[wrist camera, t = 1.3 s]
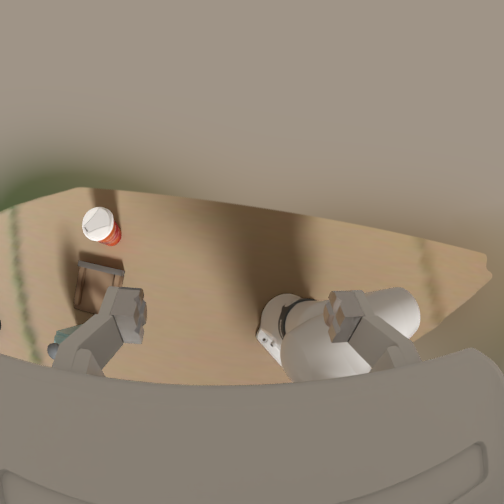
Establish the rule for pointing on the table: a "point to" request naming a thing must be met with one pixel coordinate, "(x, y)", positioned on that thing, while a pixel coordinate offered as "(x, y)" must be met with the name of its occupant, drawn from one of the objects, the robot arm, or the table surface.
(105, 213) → the paper cup
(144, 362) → the table surface
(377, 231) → the table surface
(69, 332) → the bottle
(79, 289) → the brown square frame
